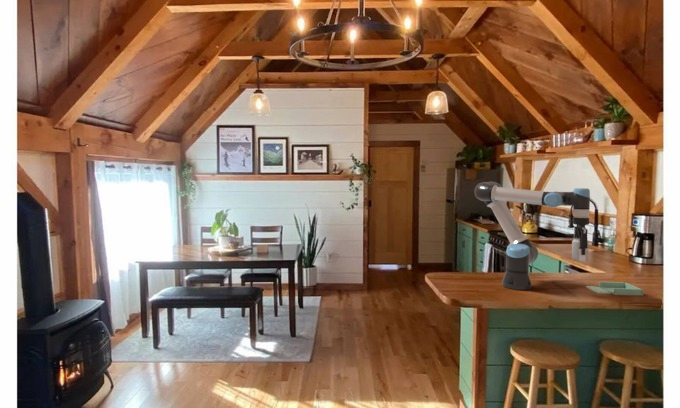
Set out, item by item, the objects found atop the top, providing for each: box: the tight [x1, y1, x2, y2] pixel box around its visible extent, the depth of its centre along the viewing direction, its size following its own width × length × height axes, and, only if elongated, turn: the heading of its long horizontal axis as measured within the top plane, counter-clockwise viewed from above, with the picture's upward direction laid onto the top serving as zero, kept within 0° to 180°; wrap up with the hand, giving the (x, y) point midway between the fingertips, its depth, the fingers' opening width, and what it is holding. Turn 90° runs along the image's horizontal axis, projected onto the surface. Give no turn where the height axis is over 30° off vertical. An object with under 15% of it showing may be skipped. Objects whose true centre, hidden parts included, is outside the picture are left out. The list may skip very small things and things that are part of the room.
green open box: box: [598, 281, 644, 296], centre depth 207 cm, size 14×14×4 cm
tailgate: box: [585, 285, 611, 295], centre depth 208 cm, size 1×11×6 cm
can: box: [571, 237, 590, 263], centre depth 206 cm, size 8×8×12 cm
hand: (579, 259), depth 207 cm, fingers closed on can, 7 cm apart
